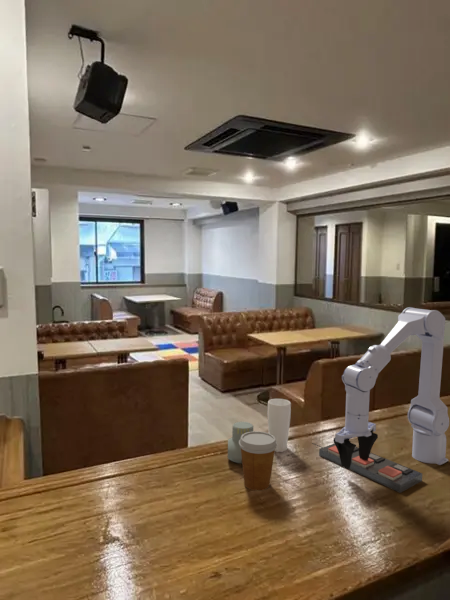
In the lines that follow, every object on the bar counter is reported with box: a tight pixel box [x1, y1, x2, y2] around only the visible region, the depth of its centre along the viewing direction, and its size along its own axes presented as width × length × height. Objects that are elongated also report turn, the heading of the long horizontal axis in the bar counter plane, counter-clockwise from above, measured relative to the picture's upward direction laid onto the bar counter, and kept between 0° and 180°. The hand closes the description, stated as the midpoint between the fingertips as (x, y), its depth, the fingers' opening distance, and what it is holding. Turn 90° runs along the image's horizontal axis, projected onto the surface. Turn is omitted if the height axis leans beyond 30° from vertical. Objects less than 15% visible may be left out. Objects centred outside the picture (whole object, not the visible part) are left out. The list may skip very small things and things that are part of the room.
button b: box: [352, 456, 374, 468], centre depth 116 cm, size 4×4×3 cm
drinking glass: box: [267, 398, 292, 453], centre depth 128 cm, size 7×7×15 cm
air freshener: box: [227, 421, 254, 465], centre depth 123 cm, size 11×8×10 cm
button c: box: [378, 466, 402, 481], centre depth 109 cm, size 4×4×3 cm
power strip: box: [311, 442, 423, 494], centre depth 120 cm, size 10×32×4 cm, turn 37°
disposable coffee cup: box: [239, 430, 277, 491], centre depth 109 cm, size 10×10×12 cm
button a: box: [328, 446, 340, 457], centre depth 122 cm, size 4×4×3 cm
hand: (354, 463), depth 113 cm, fingers open, 7 cm apart
